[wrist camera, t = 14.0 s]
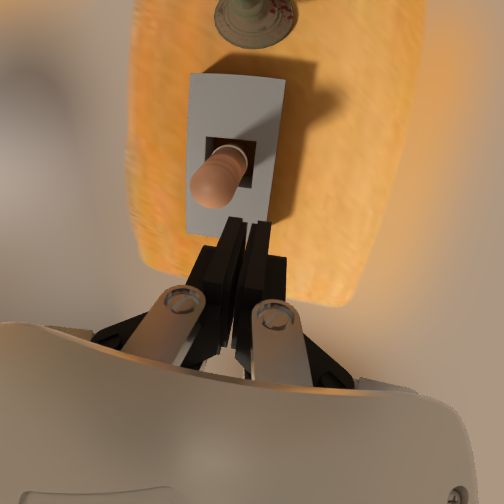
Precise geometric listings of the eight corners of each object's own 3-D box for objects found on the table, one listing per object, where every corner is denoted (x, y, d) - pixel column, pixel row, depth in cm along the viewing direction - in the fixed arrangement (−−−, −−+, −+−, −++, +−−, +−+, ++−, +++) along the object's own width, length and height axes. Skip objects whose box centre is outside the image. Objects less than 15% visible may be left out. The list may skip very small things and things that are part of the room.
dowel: (219, 136, 33) (189, 162, 23) (253, 139, 33) (237, 167, 23) (217, 167, 35) (188, 206, 25) (250, 171, 35) (233, 212, 25)
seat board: (201, 73, 29) (190, 73, 25) (285, 80, 28) (285, 79, 25) (194, 218, 40) (186, 233, 37) (265, 228, 40) (263, 244, 36)
